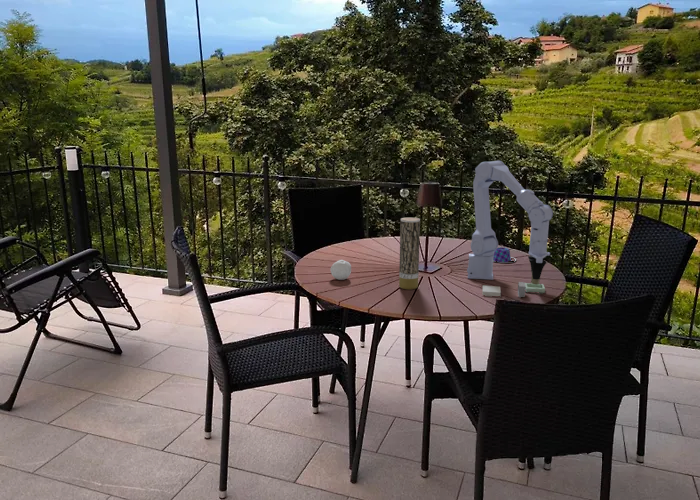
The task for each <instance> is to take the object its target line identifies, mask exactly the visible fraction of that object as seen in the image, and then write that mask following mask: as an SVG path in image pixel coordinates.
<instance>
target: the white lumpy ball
mask: <svg viewBox="0 0 700 500" xmlns="http://www.w3.org/2000/svg"><path fill="white" fill-rule="evenodd" d="M351 272H352V265H351V263H350V262H349V261H346V260H344V259H338V260H337V261H335V262H334V263H332V265H331V266H330V275H332V277H333V278H334V279H336V280H339V281H343V280H347V279H348V278H349V277H350V275H351Z"/></svg>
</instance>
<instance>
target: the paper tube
mask: <svg viewBox="0 0 700 500" xmlns="http://www.w3.org/2000/svg"><path fill="white" fill-rule="evenodd" d="M399 231H400V232H399V271H398V273H399V274H398V275H399V277H398V279H399V280H398V281H399V282H398V283H399V284H398V286H399V288H400V289H403V290H410V291H411V290H415V289H417V288H418V287H419V265H420V237H421V234H420V232H421V218H418V217H401V218H400V228H399Z"/></svg>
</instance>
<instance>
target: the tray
mask: <svg viewBox="0 0 700 500" xmlns="http://www.w3.org/2000/svg"><path fill="white" fill-rule="evenodd" d="M525 286H526V287H525V290H526V291H525V293H528V292H539V293H538V294H543V293H545V294H546V288H545V285H544V283H539V284H532V283H531V282H529V283H528V282H525Z"/></svg>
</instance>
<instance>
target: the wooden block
mask: <svg viewBox="0 0 700 500" xmlns="http://www.w3.org/2000/svg"><path fill="white" fill-rule="evenodd" d="M525 283H526V282H525V281H524V282H523V281H518V284H517V285H518V286H517V296H518V298H521V297H526V291H525V287H526V286H525Z"/></svg>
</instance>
